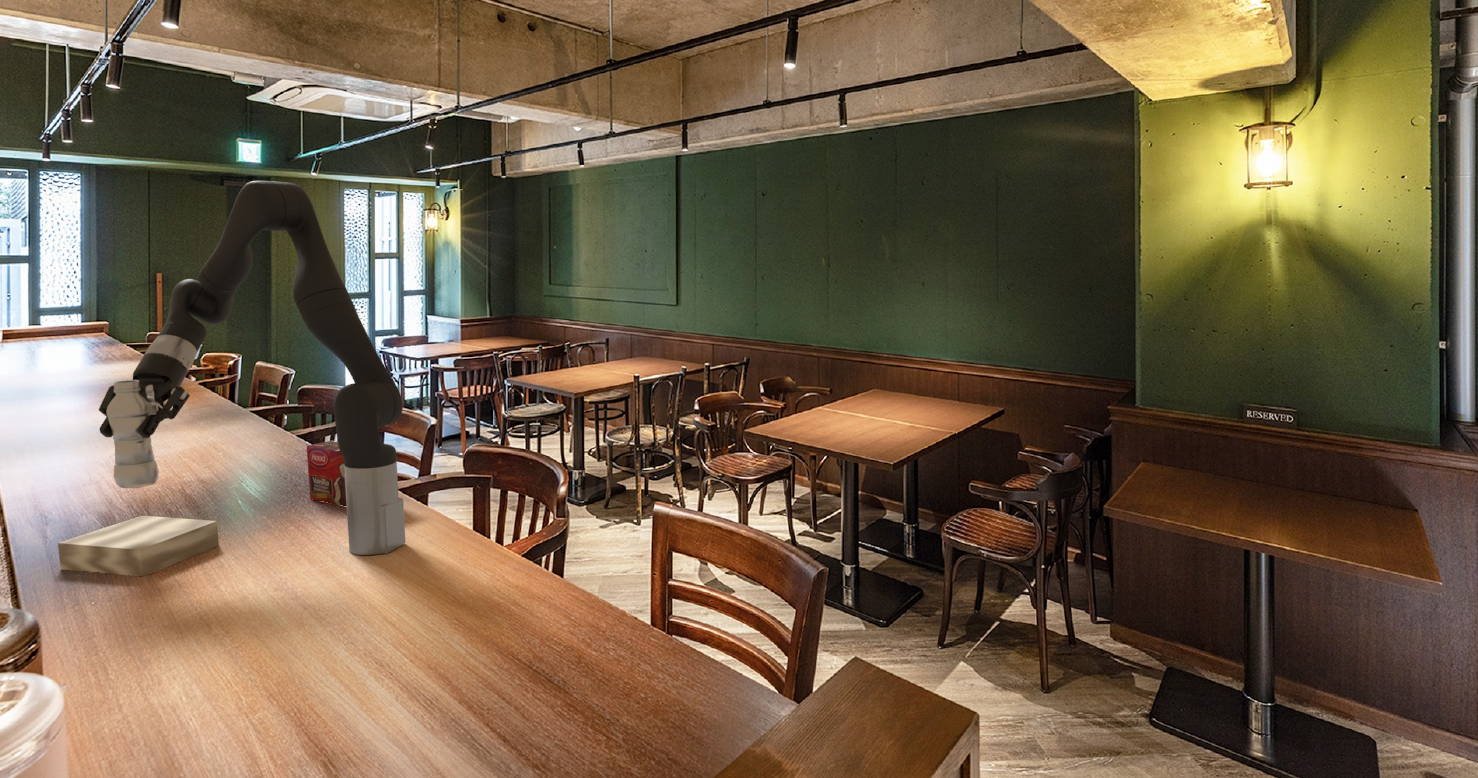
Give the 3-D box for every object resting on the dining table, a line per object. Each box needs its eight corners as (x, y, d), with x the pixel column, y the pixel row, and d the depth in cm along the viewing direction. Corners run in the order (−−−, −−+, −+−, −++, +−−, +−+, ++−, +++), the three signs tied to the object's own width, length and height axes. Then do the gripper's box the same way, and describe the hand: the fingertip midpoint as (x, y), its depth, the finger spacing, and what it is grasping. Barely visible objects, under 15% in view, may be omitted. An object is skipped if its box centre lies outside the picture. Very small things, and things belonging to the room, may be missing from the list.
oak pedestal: (218, 545, 146) (216, 521, 145) (142, 576, 130) (139, 549, 129) (144, 539, 148) (142, 515, 148) (60, 569, 133) (57, 543, 132)
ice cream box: (391, 504, 174) (389, 449, 172) (368, 512, 168) (365, 455, 166) (334, 493, 182) (331, 440, 180) (310, 500, 177) (306, 445, 175)
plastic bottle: (135, 493, 134) (123, 384, 131) (105, 490, 135) (93, 383, 132) (169, 484, 140) (158, 380, 137) (140, 481, 141) (129, 378, 138)
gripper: (116, 350, 141) (69, 423, 131) (192, 352, 141) (151, 424, 131) (140, 374, 147) (97, 445, 137) (214, 375, 147) (176, 446, 137)
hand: (124, 435), depth 134 cm, fingers closed on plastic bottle, 6 cm apart
